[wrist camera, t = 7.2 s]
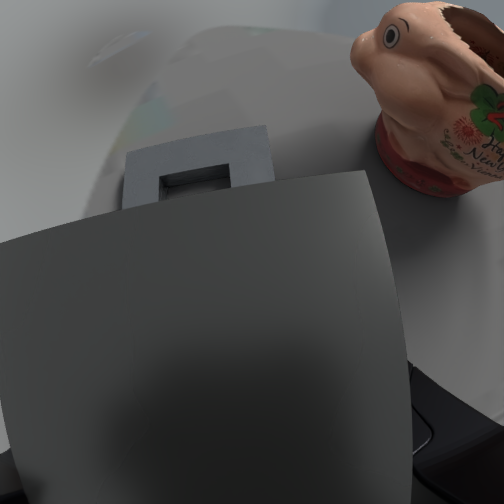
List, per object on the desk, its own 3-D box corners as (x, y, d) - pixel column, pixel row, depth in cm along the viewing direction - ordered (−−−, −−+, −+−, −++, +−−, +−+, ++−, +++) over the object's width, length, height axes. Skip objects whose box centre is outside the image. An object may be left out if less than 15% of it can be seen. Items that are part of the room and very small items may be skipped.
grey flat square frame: (288, 278, 21) (289, 273, 20) (132, 296, 22) (120, 292, 20) (267, 139, 25) (265, 124, 23) (136, 163, 25) (126, 152, 24)
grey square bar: (308, 389, 13) (401, 570, 1) (225, 399, 13) (51, 549, 1) (297, 309, 14) (365, 169, 2) (215, 320, 15) (-1, 243, 3)
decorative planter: (501, 135, 23) (560, 59, 10) (520, 237, 20) (616, 176, 7) (337, 87, 26) (354, -34, 12) (330, 192, 23) (369, 49, 9)
